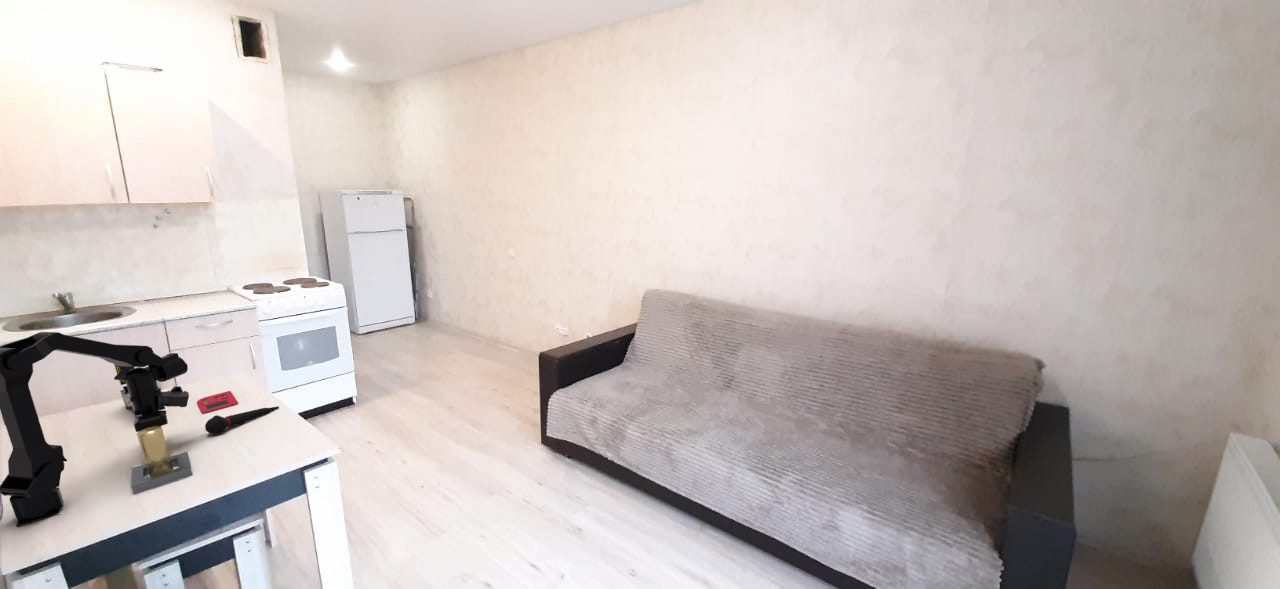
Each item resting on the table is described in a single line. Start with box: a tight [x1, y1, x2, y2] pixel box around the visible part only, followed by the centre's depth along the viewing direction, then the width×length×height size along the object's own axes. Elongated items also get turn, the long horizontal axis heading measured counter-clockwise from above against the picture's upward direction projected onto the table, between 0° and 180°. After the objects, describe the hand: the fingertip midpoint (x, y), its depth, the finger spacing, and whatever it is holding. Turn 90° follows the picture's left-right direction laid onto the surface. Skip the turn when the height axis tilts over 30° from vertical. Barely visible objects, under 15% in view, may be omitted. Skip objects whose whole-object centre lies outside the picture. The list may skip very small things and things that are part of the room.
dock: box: [130, 451, 193, 495], centre depth 130 cm, size 11×11×2 cm
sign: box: [113, 364, 140, 419], centre depth 163 cm, size 22×3×20 cm, turn 53°
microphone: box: [204, 405, 280, 435], centre depth 158 cm, size 6×6×20 cm
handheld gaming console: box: [196, 390, 239, 415], centre depth 172 cm, size 10×1×15 cm
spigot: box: [136, 426, 175, 477], centre depth 129 cm, size 5×5×13 cm
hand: (158, 440), depth 141 cm, fingers closed
